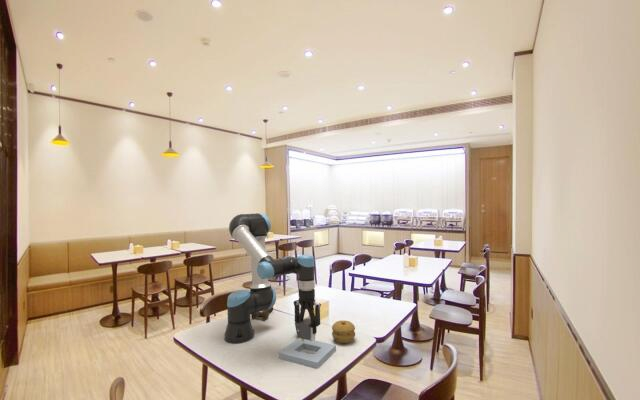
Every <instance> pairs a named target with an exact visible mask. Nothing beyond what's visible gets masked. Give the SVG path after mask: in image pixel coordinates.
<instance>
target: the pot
mask: <svg viewBox="0 0 640 400" xmlns="http://www.w3.org/2000/svg"><path fill="white" fill-rule="evenodd" d="M331 330H332V332H331V335H332V337H333V339H334V340H335V342H336V343H339V344H348V343H350V342H352V341H353V340H354V338H355V336H356V331H355V330H356V326H355V325H354V323H353V322H351V321H349V320H338V321H335V322H334V323H333V324H332V326H331Z"/></svg>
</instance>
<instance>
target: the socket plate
mask: <svg viewBox="0 0 640 400" xmlns="http://www.w3.org/2000/svg"><path fill="white" fill-rule="evenodd" d="M303 349H305V350H309V351H312V352H314V353H313V354H311V353H307V352H302V350H303ZM336 351H337V345H336V344H332V343H327V342H323V341H319V340H316V339H315V340H314V341H313V342H311V341H309V340H306V339H304V341H302V340H301V339H300V337H299V338H298V337H297V339H295V340H294V341H293V342H291V343H290V344H289V345H287V346H286V347H284V348H283V349H281V350H280V351H279V352H278V359H281V360H283V361H284V360H285V361H288V362H290V363H295V364H299V365H301V366H302V365H303V366H305V367H309V368H314V369H319V368H320V367H321V366H322V365H323V364H324V363H325V362H326V361H327V360H328V359H329V358H330V357H331V356H332V355H333V354H334V353H335V352H336Z"/></svg>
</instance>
